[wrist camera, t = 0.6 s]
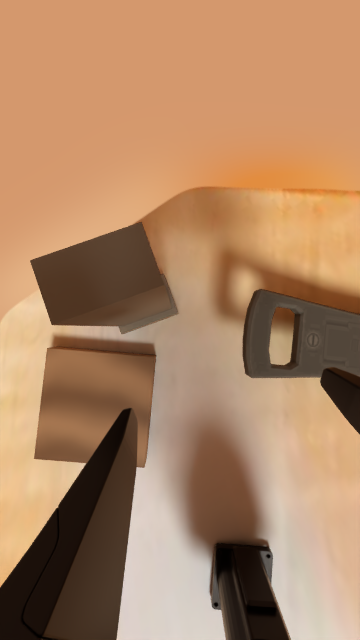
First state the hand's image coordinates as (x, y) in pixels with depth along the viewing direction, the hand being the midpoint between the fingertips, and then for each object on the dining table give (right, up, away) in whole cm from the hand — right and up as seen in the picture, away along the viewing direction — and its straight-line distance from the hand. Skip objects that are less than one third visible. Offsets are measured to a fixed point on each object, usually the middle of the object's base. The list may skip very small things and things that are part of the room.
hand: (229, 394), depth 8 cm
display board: (-12, -6, +13) cm, 18 cm away
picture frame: (-7, +5, +13) cm, 16 cm away
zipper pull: (+16, +1, +14) cm, 21 cm away
